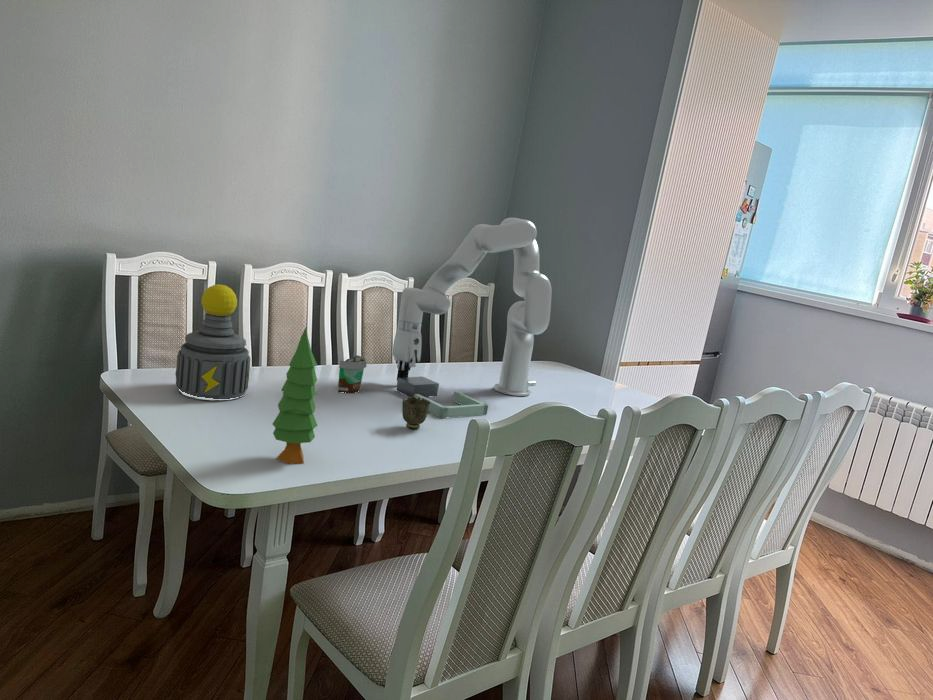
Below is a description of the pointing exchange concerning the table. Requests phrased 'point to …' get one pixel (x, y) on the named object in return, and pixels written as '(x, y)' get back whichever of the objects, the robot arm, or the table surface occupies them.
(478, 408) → the bay
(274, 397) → the table surface
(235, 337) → the decorative lamp
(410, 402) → the cup
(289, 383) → the decorative tree
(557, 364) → the table surface
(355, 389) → the food container
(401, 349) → the robot arm
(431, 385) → the gray rectangular block
